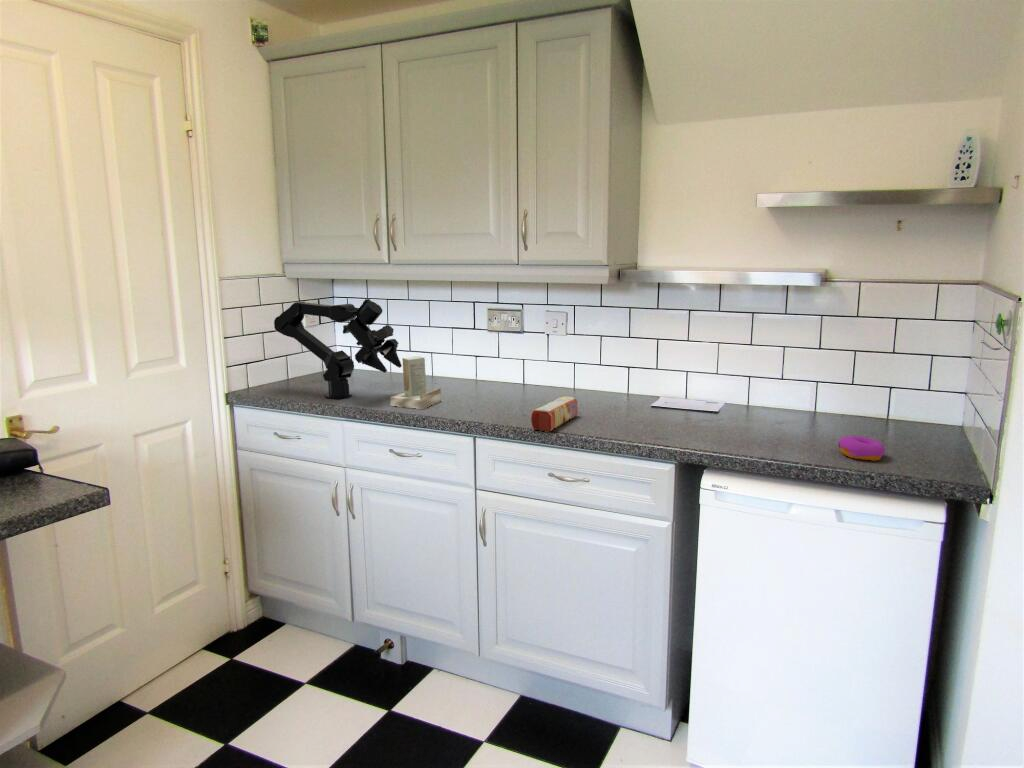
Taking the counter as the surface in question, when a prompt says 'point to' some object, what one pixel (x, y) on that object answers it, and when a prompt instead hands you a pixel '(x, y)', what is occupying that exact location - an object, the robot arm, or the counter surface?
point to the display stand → (417, 399)
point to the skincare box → (414, 376)
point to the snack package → (554, 414)
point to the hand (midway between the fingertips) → (393, 369)
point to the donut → (861, 448)
